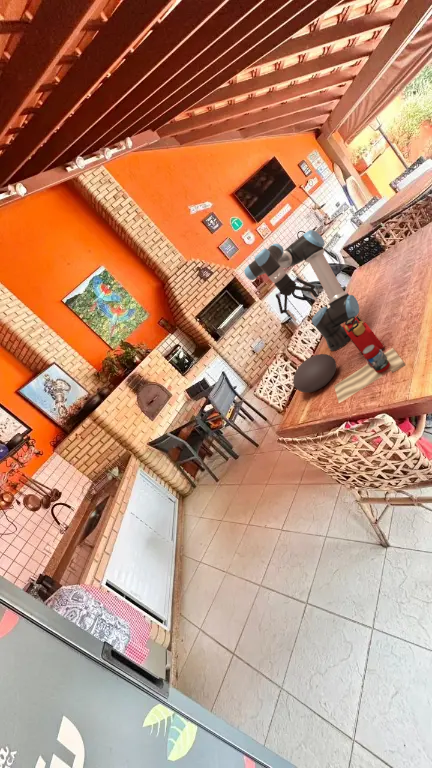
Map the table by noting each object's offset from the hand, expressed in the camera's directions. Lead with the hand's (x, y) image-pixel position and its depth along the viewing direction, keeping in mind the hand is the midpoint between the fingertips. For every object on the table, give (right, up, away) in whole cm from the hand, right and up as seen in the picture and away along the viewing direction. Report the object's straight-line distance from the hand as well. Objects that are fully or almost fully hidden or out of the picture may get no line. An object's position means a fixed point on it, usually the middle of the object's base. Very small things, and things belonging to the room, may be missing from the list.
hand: (307, 311), depth 189 cm
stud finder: (+31, -25, -11) cm, 41 cm away
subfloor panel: (+25, -32, -12) cm, 43 cm away
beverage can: (+30, -29, -19) cm, 45 cm away
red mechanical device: (+34, -19, +4) cm, 39 cm away
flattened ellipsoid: (+12, -35, +16) cm, 41 cm away
